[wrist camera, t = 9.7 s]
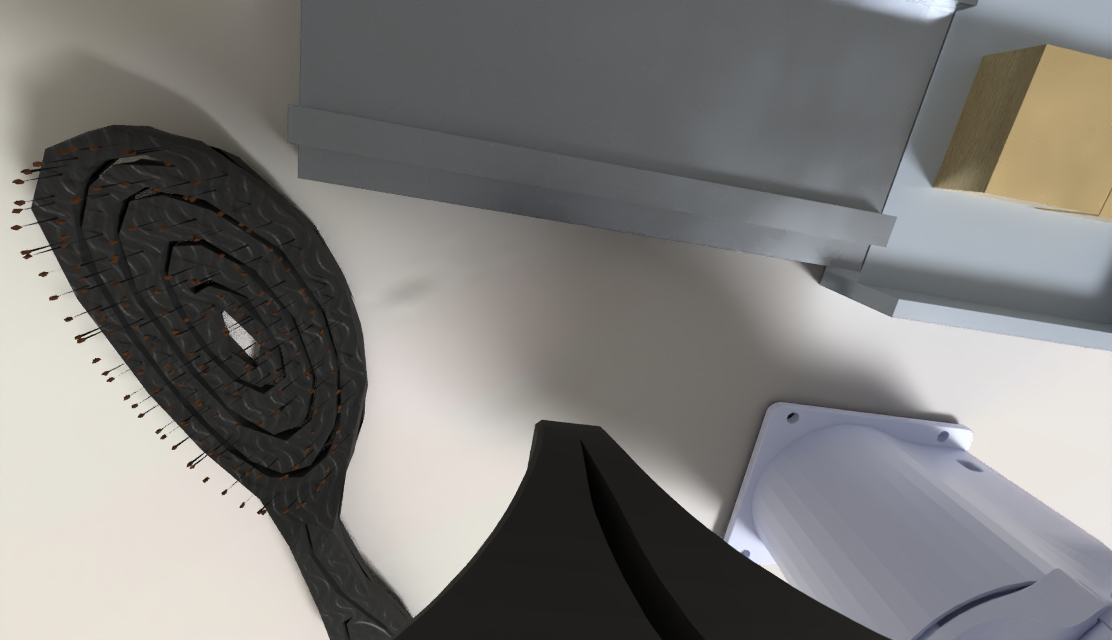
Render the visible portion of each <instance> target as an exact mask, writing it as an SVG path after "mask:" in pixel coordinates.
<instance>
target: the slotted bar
mask: <svg viewBox="0 0 1112 640" xmlns="http://www.w3.org/2000/svg"><path fill="white" fill-rule="evenodd" d="M977 3H978V0H302V9H301V56H300V103H299V106H295V105H290V104H288V143H292V144H298V145H299V151H298V178H302V179H308V180H314V181H320V182H326V183H332V184H338V185H344V186H350V187H356V188H362V189H368V190H374V191H380V192H386V193H392V194H398V195H404V196H410V197H416V198H422V199H428V200H434V201H440V202H446V203H452V204H458V205H464V206H470V207H476V208H482V209H488V210H494V211H500V212H506V213H512V214H518V215H524V216H530V217H536V218H542V219H548V220H554V221H560V222H566V223H572V224H578V225H584V226H590V227H596V228H602V229H608V230H614V231H620V232H626V233H632V234H638V235H644V236H650V237H656V238H662V239H668V240H674V241H680V242H686V243H692V244H698V245H704V246H710V247H716V248H722V249H728V250H734V251H740V252H746V253H752V254H758V255H764V256H770V257H776V258H782V259H788V260H794V261H800V262H806V263H812V264H818V265H824V266H830V267H836V268H842V269H848V270H854V271H860V269H861V266H862V263H863V260H864V258H865V255H866V252H867V249H868V247H869V245H875V246H881V247H886V246H887V244H888V241H889V238H890V236H891V233H892V230H893V228H894V225H895V222H896V219H897V217H896V216H891V215H886V214H881V211H882V208H883V205H884V203H885V200H886V197H887V194H888V192H889V189H890V186H891V183H892V181H893V178H894V175H895V172H896V170H897V167H898V164H899V161H900V159H901V156H902V153H903V150H904V148H905V145H906V142H907V139H908V137H909V134H910V131H911V128H912V126H913V123H914V120H915V117H916V115H917V112H918V109H919V106H920V104H921V101H922V98H923V95H924V93H925V90H926V87H927V84H928V82H929V79H930V76H931V73H932V71H933V68H934V65H935V62H936V60H937V57H938V54H939V51H940V49H941V46H942V43H943V40H944V38H945V35H946V32H947V29H948V27H949V24H950V21H951V18H952V16H953V13H954V12H958V11H961V10H964V9H968V8H971V7H974V6H977Z"/></svg>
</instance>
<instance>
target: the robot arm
mask: <svg viewBox="0 0 1112 640" xmlns="http://www.w3.org/2000/svg"><path fill="white" fill-rule="evenodd" d="M791 413H794V415H793V417H791V418H790V419H787V417H788V415H789V414H791ZM939 433H940V435H939ZM973 437H974V435H973V432H972V430H971V429H969V428H968V427H966V426H964V425H960V424H952V423H944V422H936V421H928V420H920V419H912V418H904V417H896V416H888V415H880V414H873V413H865V412H857V411H849V410H841V409H833V408H825V407H817V406H809V405H801V404H793V403H785V402H776V403H774V404H772V405H771V406H770V407H769V408H768V410H767V411H766V414H765V417H764V420H763V423H762V426H761V429H760V432H759V435H758V438H757V441H756V444H755V447H754V450H753V453H752V456H751V459H750V462H749V465H748V468H747V471H746V474H745V477H744V480H743V483H742V486H741V489H740V492H739V495H738V498H737V501H736V504H735V507H734V510H733V513H732V516H731V519H730V522H729V525H728V528H727V531H726V534H725V536H724V539H721V538H720V537H719V536H717V535H716V534H715V533H713V532H712V531H711V530H709V529H708V528H707V527H705V526H704V525H703V524H702V523H700V522H699V521H698V520H697V519H696V518H694V517H693V516H692V515H691V514H690V513H688V512H687V511H686V510H685V509H684V508H683V507H682V506H681V505H679V504H678V503H677V502H676V501H675V500H674V499H673V498H671V497H670V496H669V495H668V494H667V493H666V492H665V491H664V490H663V489H662V488H661V487H660V486H658V485H657V484H656V483H655V482H654V481H653V480H652V479H651V478H650V477H649V476H648V475H647V474H646V473H645V472H644V471H643V470H642V469H641V468H640V467H639V466H638V465H637V464H636V463H635V462H634V461H633V460H632V459H631V458H630V456H629V455H628V454H627V453H626V452H625V451H624V450H623V449H622V448H621V447H620V446H619V445H618V444H617V443H616V442H615V441H614V440H613V439H612V438H611V437H610V436H609V435H608V434H607V433H606V432H605V431H604V430H603V429H602V428H601V427H600V426H592V425H583V424H574V423H565V422H556V421H547V420H541V421H540V422H538V423H537V424H535V430H534V435H533V441H532V446H531V451H530V457H529V462H528V468H527V471H526V474H525V476H524V478H523V480H522V482H521V484H520V486H519V488H518V490H517V492H516V494H515V496H514V498H513V500H512V502H511V503H510V505H509V507H508V508H507V510H506V512H505V513H504V515H503V517H502V518H501V520H500V521H499V523H498V524H497V526H496V527H495V529H494V530H493V532H492V533H491V534H490V536H489V537H488V538H487V540H486V541H485V542H484V544H483V545H482V546H481V548H480V549H479V550H478V552H477V553H476V554H475V555H474V557H473V558H472V559H471V560H470V561H469V563H468V564H467V565H466V566H465V567H464V568H463V569H462V570H461V572H460V573H459V574H458V575H457V576H456V577H455V578H454V579H453V580H452V581H451V582H450V583H449V584H448V585H447V586H446V588H445V589H444V590H443V591H442V592H441V593H440V594H439V595H438V596H437V597H436V598H435V599H434V600H433V601H432V602H431V603H430V604H429V605H428V606H427V607H426V608H425V609H423V610H422V611H421V612H420V613H419V614H418V615H417V616H415V617H414V618H413V619H412V620H411V621H410V622H409V623H407V624H406V625H405V626H404V627H403V628H402V629H401V630H399V631H398V632H397V633H396V634H395V635H394V636H393V637H391V638H390V639H389V640H1112V550H1110V549H1109V548H1108V547H1107V546H1106V545H1104V544H1103V543H1102V542H1101V541H1099V540H1098V539H1096V538H1095V537H1093V536H1092V535H1091V534H1089V533H1088V532H1086V531H1085V530H1083V529H1082V528H1080V527H1079V526H1077V525H1076V524H1074V523H1073V522H1071V521H1070V520H1068V519H1067V518H1065V517H1064V516H1062V515H1061V514H1059V513H1058V512H1056V511H1055V510H1053V509H1052V508H1050V507H1049V506H1047V505H1046V504H1044V503H1043V502H1041V501H1040V500H1038V499H1037V498H1035V497H1034V496H1032V495H1031V494H1029V493H1028V492H1026V491H1025V490H1023V489H1022V488H1020V487H1019V486H1017V485H1016V484H1014V483H1013V482H1011V481H1010V480H1008V479H1007V478H1005V477H1004V476H1002V475H1001V474H1000V473H998V472H997V471H995V470H994V469H992V468H991V467H989V466H988V465H986V464H985V463H983V462H982V461H980V460H979V459H977V458H976V457H974V456H973V455H971V454H970V453H968V452H967V451H968V448H969V446H970V444H971V442H972V440H973ZM743 550H745V551H744V552H741V551H743ZM740 552H741V553H740ZM758 564H766V565H777V566H778V567H779V569H780V570H781V572H782V573H783V575H784V577H785V578H786V580H787V581H788V583H789V584H790V585H789V584H788V583H786V582H785V581H783V580H782V579H780V578H778V577H777V576H775V575H774V574H772V573H771V572H769V571H767V570H766V569H764V568H763V567H761V566H759V565H758Z"/></svg>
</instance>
